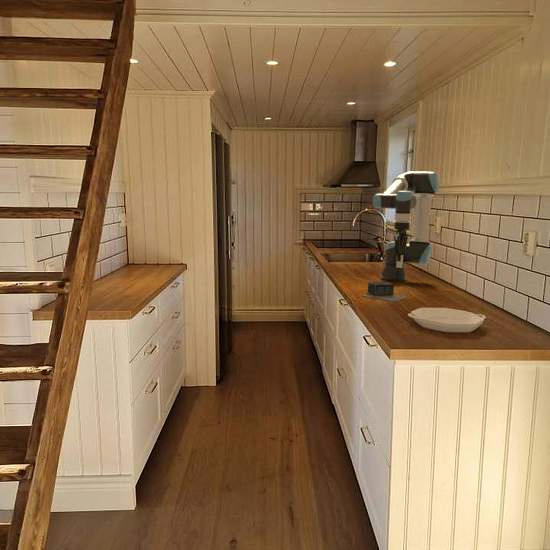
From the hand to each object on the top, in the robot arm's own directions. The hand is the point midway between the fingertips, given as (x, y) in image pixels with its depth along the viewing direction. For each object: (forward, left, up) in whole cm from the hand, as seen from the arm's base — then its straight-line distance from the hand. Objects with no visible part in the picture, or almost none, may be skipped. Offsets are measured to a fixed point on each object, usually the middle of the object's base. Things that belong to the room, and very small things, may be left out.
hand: (399, 267), depth 249 cm
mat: (+15, 0, -13) cm, 20 cm away
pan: (+48, +41, -14) cm, 64 cm away
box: (+7, -1, -10) cm, 12 cm away
